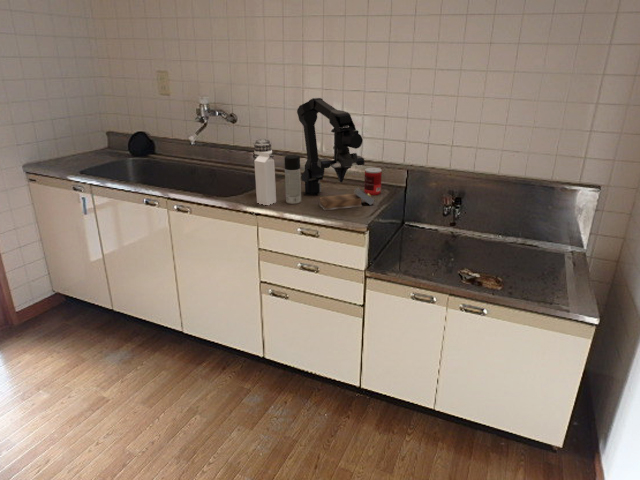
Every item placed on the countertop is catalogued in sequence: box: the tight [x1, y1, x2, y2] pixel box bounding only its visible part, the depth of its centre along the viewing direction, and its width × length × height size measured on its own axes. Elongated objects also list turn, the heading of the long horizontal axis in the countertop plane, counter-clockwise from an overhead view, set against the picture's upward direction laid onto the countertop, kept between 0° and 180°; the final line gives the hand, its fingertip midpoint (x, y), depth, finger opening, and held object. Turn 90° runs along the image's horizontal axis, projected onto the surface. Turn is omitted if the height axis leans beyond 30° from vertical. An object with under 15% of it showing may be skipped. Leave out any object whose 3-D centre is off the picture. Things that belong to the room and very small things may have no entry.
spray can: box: [284, 154, 302, 205], centre depth 199 cm, size 7×7×20 cm
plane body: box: [318, 193, 363, 211], centre depth 196 cm, size 17×8×4 cm, turn 107°
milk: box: [253, 152, 277, 206], centre depth 197 cm, size 6×6×22 cm
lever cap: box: [353, 186, 375, 206], centre depth 197 cm, size 8×5×3 cm
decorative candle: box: [252, 138, 275, 183], centre depth 208 cm, size 9×9×25 cm
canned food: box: [363, 167, 383, 196], centre depth 211 cm, size 8×8×11 cm
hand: (340, 182), depth 193 cm, fingers closed
